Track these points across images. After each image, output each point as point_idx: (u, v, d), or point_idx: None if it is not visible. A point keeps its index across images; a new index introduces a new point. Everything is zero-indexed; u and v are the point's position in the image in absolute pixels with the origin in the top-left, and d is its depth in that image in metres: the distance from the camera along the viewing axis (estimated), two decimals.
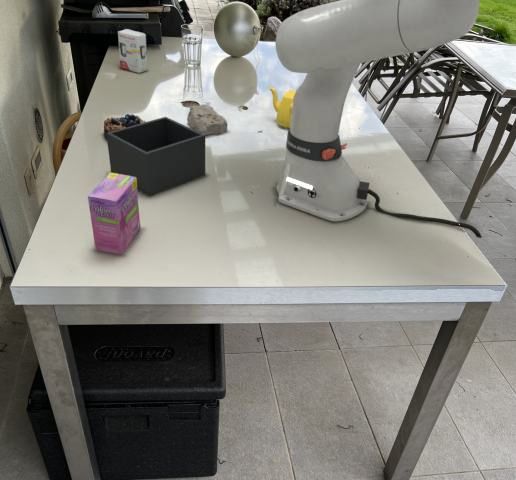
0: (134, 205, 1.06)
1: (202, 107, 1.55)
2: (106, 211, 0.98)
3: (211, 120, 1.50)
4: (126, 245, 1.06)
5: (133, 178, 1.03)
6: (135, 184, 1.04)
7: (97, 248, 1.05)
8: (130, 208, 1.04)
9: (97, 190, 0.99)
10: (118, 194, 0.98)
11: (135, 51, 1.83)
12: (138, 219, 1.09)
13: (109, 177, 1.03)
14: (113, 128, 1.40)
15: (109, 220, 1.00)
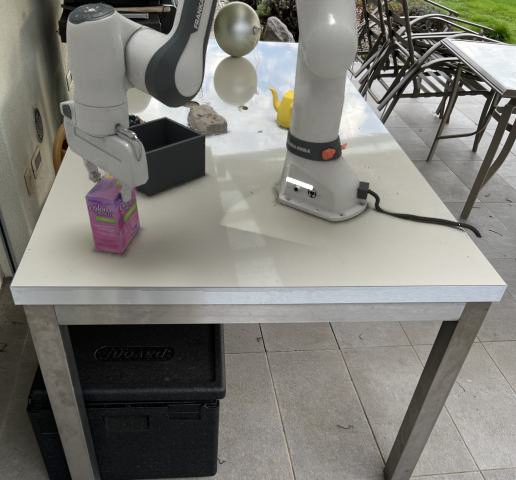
0: (133, 204, 1.06)
1: (202, 107, 1.55)
2: (104, 210, 0.98)
3: (211, 120, 1.50)
4: (126, 244, 1.06)
5: None
6: None
7: (97, 248, 1.05)
8: (129, 206, 1.04)
9: (94, 189, 0.99)
10: (115, 193, 0.98)
11: None
12: (137, 218, 1.09)
13: (106, 177, 1.03)
14: None
15: (108, 219, 0.99)
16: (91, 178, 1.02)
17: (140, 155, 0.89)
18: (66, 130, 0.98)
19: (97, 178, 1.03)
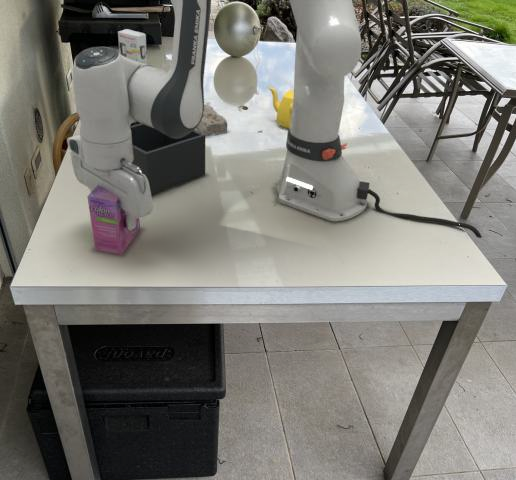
0: None
1: None
2: (106, 211, 0.98)
3: (211, 120, 1.50)
4: (126, 245, 1.06)
5: None
6: None
7: (97, 248, 1.05)
8: None
9: (97, 190, 0.99)
10: None
11: (135, 51, 1.83)
12: (138, 219, 1.09)
13: None
14: None
15: (109, 220, 1.00)
16: None
17: (145, 188, 0.93)
18: (73, 163, 1.02)
19: None
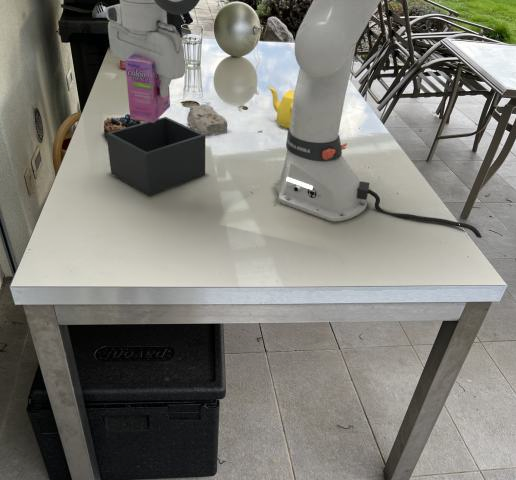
0: None
1: (202, 107, 1.55)
2: (142, 75, 1.07)
3: (211, 120, 1.50)
4: (158, 115, 1.14)
5: None
6: None
7: (132, 117, 1.13)
8: None
9: (133, 56, 1.08)
10: None
11: None
12: (168, 95, 1.18)
13: None
14: (113, 128, 1.40)
15: (144, 85, 1.08)
16: None
17: (179, 47, 1.02)
18: (110, 35, 1.11)
19: None
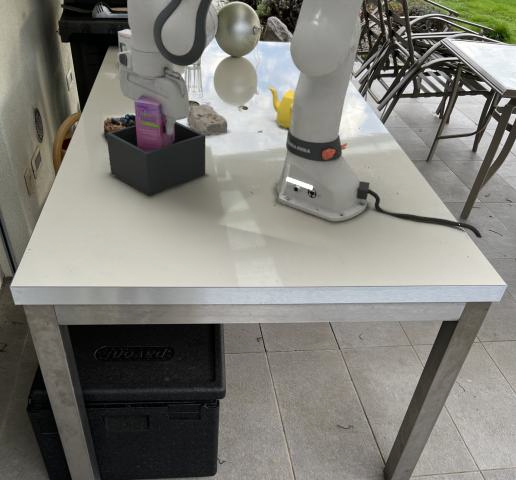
0: None
1: (202, 107, 1.55)
2: (149, 115, 1.16)
3: (211, 120, 1.50)
4: None
5: None
6: None
7: None
8: None
9: (141, 98, 1.17)
10: None
11: None
12: (173, 130, 1.27)
13: None
14: (113, 128, 1.40)
15: (152, 124, 1.18)
16: None
17: (184, 92, 1.11)
18: (120, 77, 1.20)
19: None
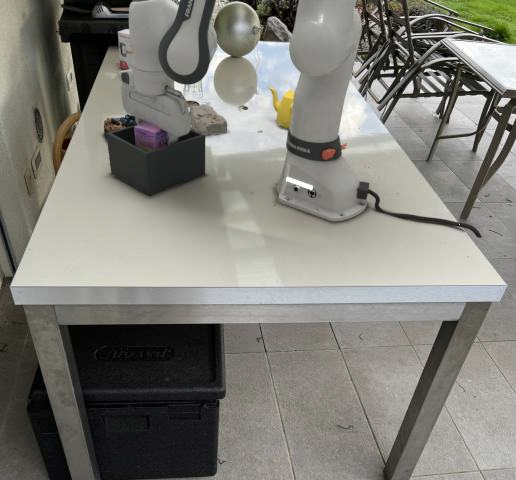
0: None
1: (202, 107, 1.55)
2: (147, 141, 1.20)
3: (211, 120, 1.50)
4: None
5: None
6: None
7: None
8: None
9: (143, 123, 1.21)
10: (158, 128, 1.20)
11: None
12: None
13: None
14: (113, 128, 1.40)
15: (149, 149, 1.22)
16: None
17: (185, 109, 1.14)
18: (122, 95, 1.23)
19: None
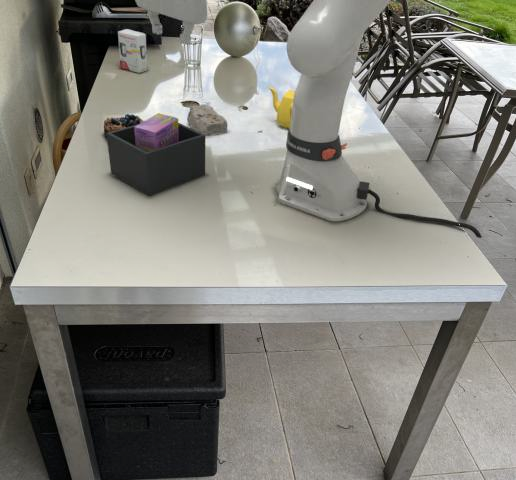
0: (174, 142, 1.27)
1: (202, 107, 1.55)
2: (147, 141, 1.20)
3: (211, 120, 1.50)
4: None
5: (175, 119, 1.25)
6: (176, 124, 1.25)
7: None
8: (170, 143, 1.26)
9: (143, 123, 1.21)
10: (158, 128, 1.20)
11: (135, 51, 1.83)
12: None
13: (156, 116, 1.25)
14: (113, 128, 1.40)
15: (149, 149, 1.22)
16: (154, 30, 1.21)
17: None
18: None
19: (159, 30, 1.21)
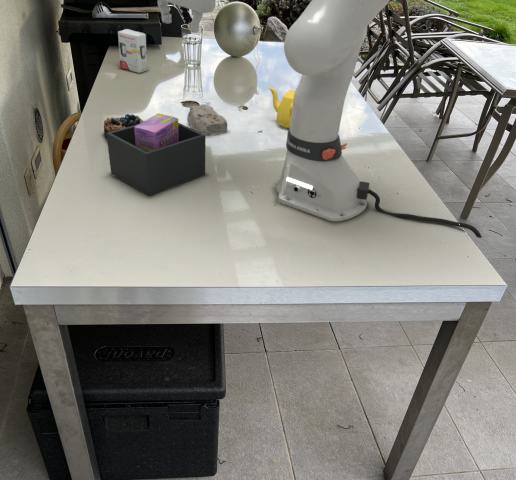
0: (174, 142, 1.27)
1: (202, 107, 1.55)
2: (147, 141, 1.20)
3: (211, 120, 1.50)
4: None
5: (175, 119, 1.25)
6: (176, 124, 1.25)
7: None
8: (170, 143, 1.26)
9: (143, 123, 1.21)
10: (158, 128, 1.20)
11: (135, 51, 1.83)
12: None
13: (156, 116, 1.25)
14: (113, 128, 1.40)
15: (149, 149, 1.22)
16: (164, 19, 1.24)
17: None
18: None
19: (168, 19, 1.24)
